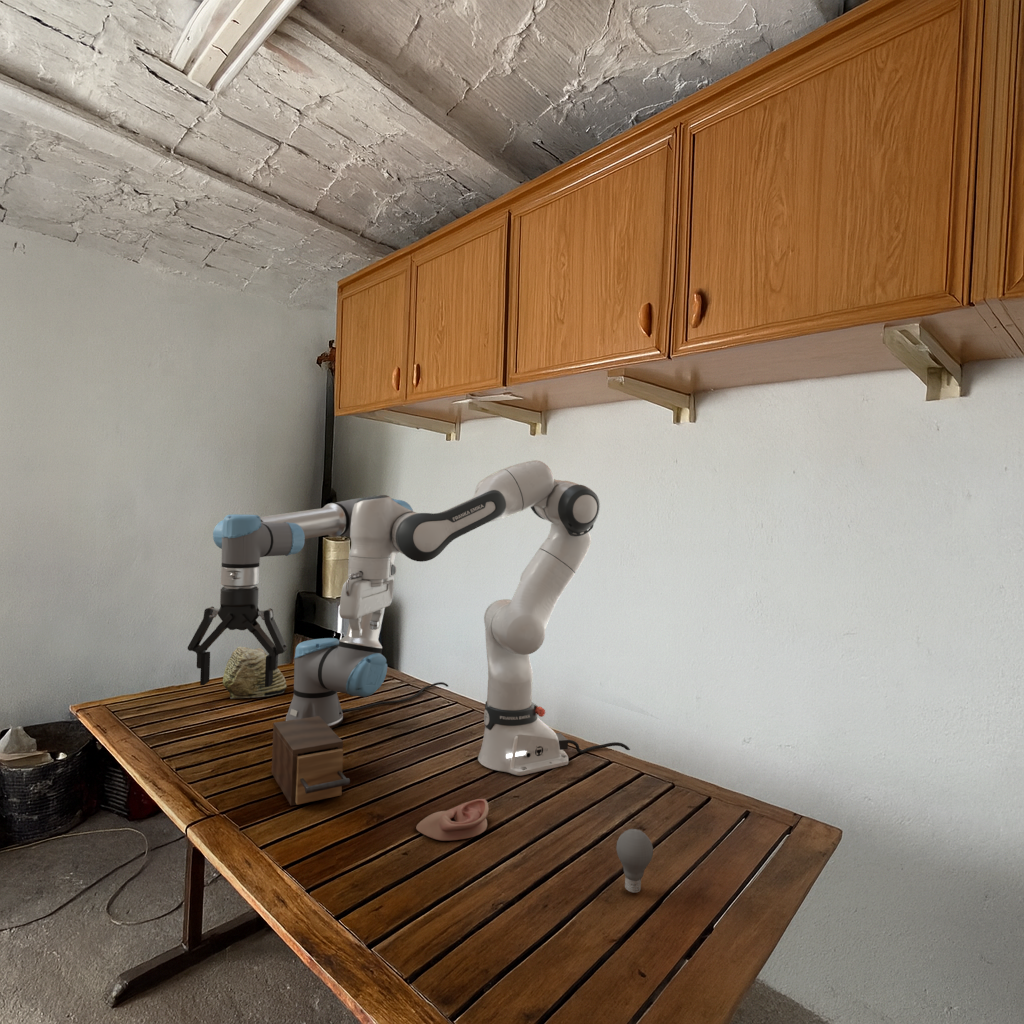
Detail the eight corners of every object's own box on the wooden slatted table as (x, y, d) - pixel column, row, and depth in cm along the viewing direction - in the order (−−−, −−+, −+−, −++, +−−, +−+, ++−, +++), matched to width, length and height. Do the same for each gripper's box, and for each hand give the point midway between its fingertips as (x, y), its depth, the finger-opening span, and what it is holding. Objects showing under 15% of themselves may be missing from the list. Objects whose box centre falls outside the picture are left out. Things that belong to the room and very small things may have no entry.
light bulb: (610, 879, 108) (613, 822, 108) (644, 879, 109) (647, 822, 109) (619, 902, 102) (622, 840, 102) (655, 901, 103) (658, 840, 103)
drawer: (350, 806, 128) (352, 760, 128) (304, 817, 123) (306, 768, 123) (319, 766, 146) (320, 725, 146) (278, 774, 141) (279, 732, 141)
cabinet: (340, 795, 135) (343, 741, 135) (290, 806, 129) (293, 750, 129) (317, 764, 150) (319, 715, 149) (271, 773, 144) (273, 722, 144)
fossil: (218, 695, 195) (220, 647, 195) (278, 685, 208) (279, 640, 207) (228, 703, 189) (230, 653, 188) (289, 692, 201) (290, 645, 201)
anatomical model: (410, 815, 119) (430, 788, 131) (410, 836, 119) (430, 807, 131) (479, 825, 117) (493, 797, 128) (478, 847, 117) (492, 817, 128)
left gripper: (172, 586, 132) (169, 687, 132) (293, 590, 133) (289, 691, 133) (189, 581, 139) (186, 677, 140) (303, 585, 140) (300, 680, 141)
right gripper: (362, 575, 126) (359, 644, 127) (399, 566, 146) (396, 626, 147) (333, 573, 128) (329, 641, 128) (374, 564, 148) (370, 623, 148)
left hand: (236, 684), depth 137 cm, fingers open, 13 cm apart
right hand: (365, 633), depth 137 cm, fingers open, 8 cm apart
